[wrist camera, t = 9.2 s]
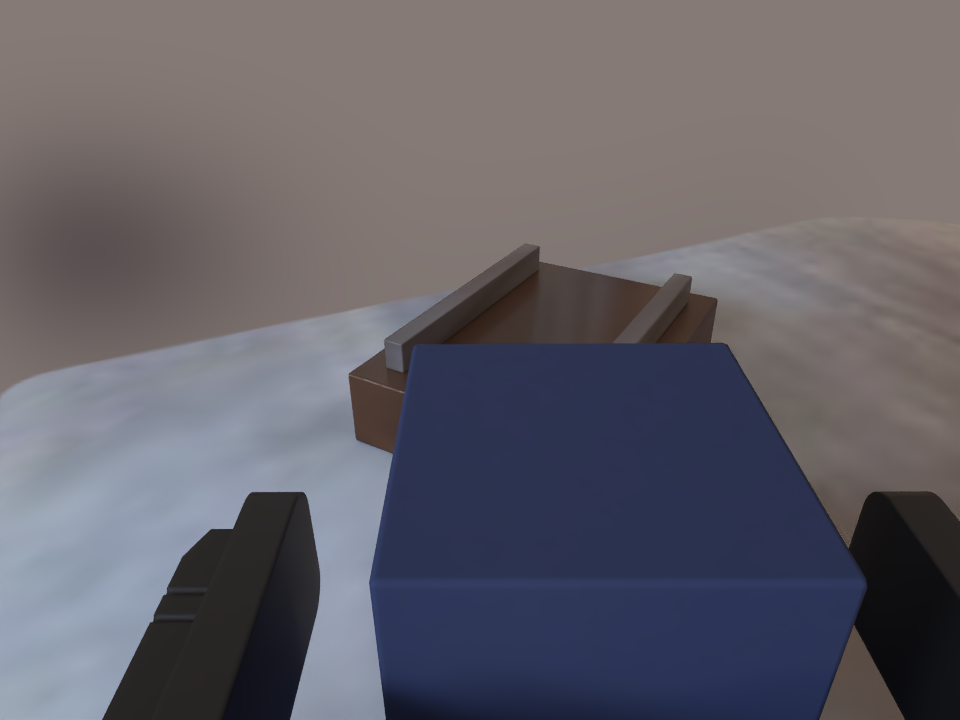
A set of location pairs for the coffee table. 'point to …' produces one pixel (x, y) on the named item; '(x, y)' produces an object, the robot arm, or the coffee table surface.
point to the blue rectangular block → (602, 542)
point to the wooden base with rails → (526, 325)
